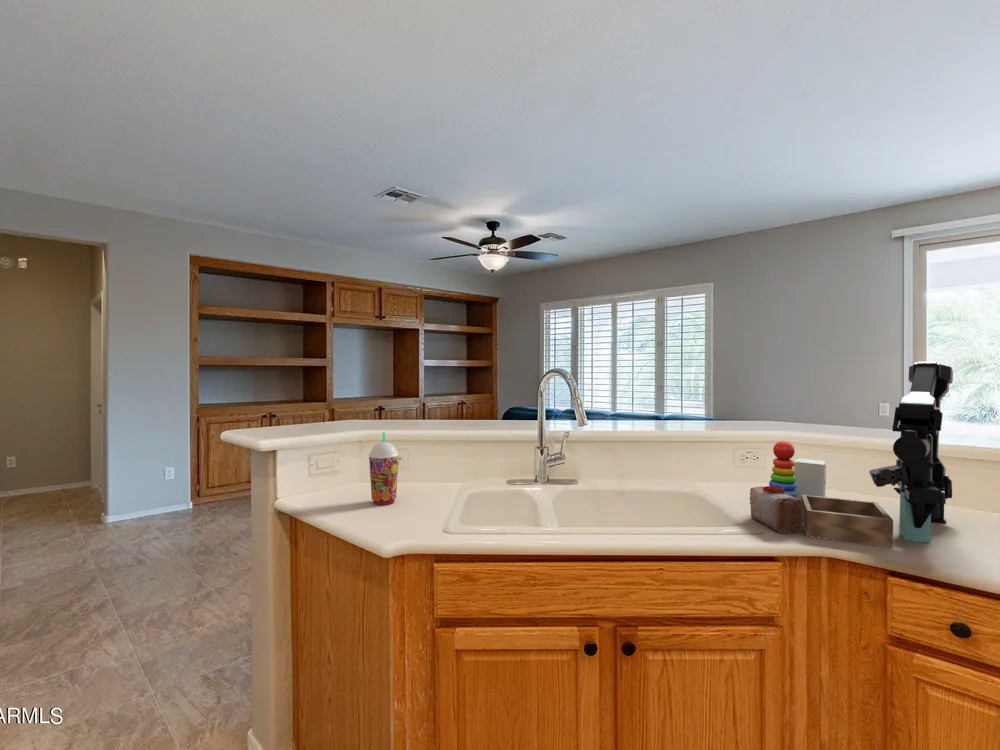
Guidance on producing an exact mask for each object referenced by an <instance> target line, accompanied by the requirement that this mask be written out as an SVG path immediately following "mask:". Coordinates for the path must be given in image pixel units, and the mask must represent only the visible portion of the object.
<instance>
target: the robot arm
mask: <svg viewBox="0 0 1000 750" xmlns="http://www.w3.org/2000/svg"><path fill="white" fill-rule="evenodd" d="M953 372H954V371H953V369H952V367H951V366H949V365H945V364H941V363H940V362H937V361H918V362H914V363H913V365H910V366H909V367H908V378H907V379H908V382H910V384H911V387H910V390H909V393H908V394H906V395H904V396H902V397H901V398H900V401H899V404H898V405H896V406H895V409H894V417H893V423H892V432H898V433H899V432H900V437H898V438H897V439H896V440H895V441H894V443H893V445H892V450H893V451H892V452H893V453H894V455H895V456H896V457H897V459H896V461H895V464H894V465H888V466H884V467H879V468H873V469H870V470H869V474H870V475H869V476H870V477H871V480H872V482H873V484H874V485H875V486H876V487H877V488H879V487H880V488H881V487H886V485H887V486H888V485H891V486H892V487H893V486H895V487H893V490H894V491H896V493H898V494H899V495H900V491H904V492H905V496H903V498H904V499H905V500H907V501H908V502H909V503H910V505H911V511H912V516H913V522H914V527H915V528H921V527H922V526H923V524H924V523H925V521H926V520H927V518H928V517H929V515H930V514H931V522H933V523H934V522H935V523H945V524H946V523H947V520H946V519H945V505H946V504H947V503H946V502H947V500H948V499H953V481H952V480H951V479H950V477H949V476H950V475H949V474H947V472H946V469H947V468H946V466H945V465H944V463H943V462H942V460H941V458H940V457H939V442H940V432H941V431H942V423H943V416H944V415H943V412H941V400H942V399H943V398H944V397H945V396H946V395H947V394H948V392H949V390H950V384H953V382H954V381H953V379H954V373H953ZM896 485H897V487H896Z"/></svg>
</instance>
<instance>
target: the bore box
mask: <svg viewBox="0 0 1000 750" xmlns="http://www.w3.org/2000/svg"><path fill="white" fill-rule="evenodd" d="M801 501H802V505H801V506H802V522H803V523H802V526H803V525H804V526H803V528H805V529H804V531H806V532H805V536H806V537H807V536H813V537H812V538H815V537H820V538H819V539H822V538H827V539H826V540H830V539H833V541H838V540H839V541H840V542H845V541H847V542H846V543H855V544H863V545H870V546H876V547H884V548H892V549H893V547H894V545H893V541H894V519H893V518H892V517H891V516H890V515H889V514H888V513H887V512H886V510H885V509H884V508H883V507H882V506H881V505H880V504H879V502H877V501H870V500H858V499H848V498H840V497H839V498H837V497H828V496H827V497H826V496H825V497H820V496H810V495H801Z"/></svg>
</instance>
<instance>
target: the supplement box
mask: <svg viewBox="0 0 1000 750" xmlns="http://www.w3.org/2000/svg"><path fill="white" fill-rule="evenodd" d="M793 462H794V466H793V468H794V469H795V474H794V476H795V477H796V481H795V483H796V485H797V487H796V489H795V490H796V491H797V496H796V497H797V498H798V499H799V500H801V495H810V496H820V497H826V489H827V487H826V483H827V477H826V476H827V461H826V460H820V459H818V460H817V459H809V458H796V459H795V461H793Z"/></svg>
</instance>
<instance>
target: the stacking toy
mask: <svg viewBox="0 0 1000 750" xmlns="http://www.w3.org/2000/svg"><path fill="white" fill-rule="evenodd" d="M772 450H773V454H774V456H775V457H776V458H774V459H773V460H772V463H773V464H772V465H774V466H773V467H772V468H771V470H772V473H771V474H770V480H769V482H768V486H776V485H777V486H779V487H781V488H783V487H784V486H785V487H784V490H785V493H786V494H788V495H790V496H792V497H794V498H797V497H796V496H797V491H796V490H795V489H796V487H797V485H796V483H795V481H796V477H795V476H794V474H795V469H794V462H795V461H793V459H792V458H793V457H794V455H795V453H796V451H795V448H794V446H793V445H792V444H791V443H790V442H788V441H784V440H783V441H778V442H776V443H775V444H774V446H773V449H772ZM797 499H798V498H797Z"/></svg>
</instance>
